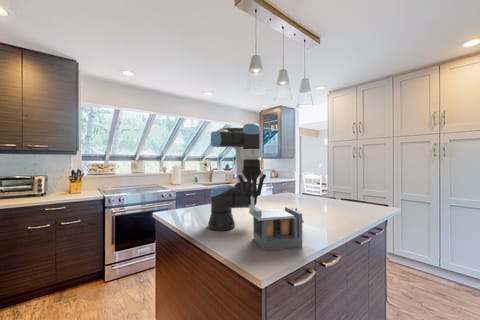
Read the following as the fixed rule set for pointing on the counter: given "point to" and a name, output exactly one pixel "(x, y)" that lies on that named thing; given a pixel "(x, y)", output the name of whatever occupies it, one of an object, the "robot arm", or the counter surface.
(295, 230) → the housing
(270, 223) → the pin
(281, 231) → the pin
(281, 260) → the counter surface
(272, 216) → the pale blue flat panel
